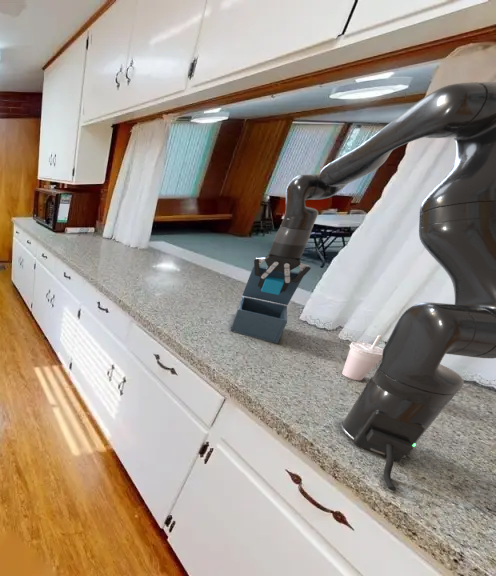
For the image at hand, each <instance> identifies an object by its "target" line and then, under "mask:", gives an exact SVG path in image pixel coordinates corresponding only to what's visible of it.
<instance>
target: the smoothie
mask: <svg viewBox="0 0 496 576" xmlns="http://www.w3.org/2000/svg"><path fill="white" fill-rule="evenodd" d="M381 338H382V335H381V334H378V335H377V337H376V338H375V340H374V341H373V343H372V344H371V343H368V342H364V341H351V343H350V344H349V351H348V353H347V357H346V360H345V363H344V366H343V369H342V371H341V373H342V375H343V376H345V377H346V378H348V379H351V380H353V381H362V380H363V379H364V378H365V377H366V376H367V375H368V374H369V373H370V372H371V371H372V370H373V369H374V367H376V365H377V364H379V362H380V361H382V354H383V349H384V348H382V347H379V346H377V345H378V343H379V341H380V340H381Z"/></svg>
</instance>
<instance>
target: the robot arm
mask: <svg viewBox="0 0 496 576" xmlns="http://www.w3.org/2000/svg"><path fill="white" fill-rule="evenodd" d="M423 138H426V139H453V140H454V141H455V147H456V148H455V150H456V151H455V158H454V163H453V166H452V168H451V169H450V171H449V172H448V173H447V174H446V176H445V177H444V178H443V179H442V180H441V181H440V182H439V183H438V184H437V185H436V186H435V187H433V189H432V190H431V191H430V192H429V193H428V194H427V195H426V197H425V199H424V200H423V201H422V203H421V205H420V207H419V219H418V221H419V224H418V236H419V240H420V243H421V244H422V246H423V247H424V249H425V250H426V251H427V252H428V254H430V256H431V257H432V258H433V259H434V261H436V262H437V263H438V265H440V266H441V268H442V269H443V270H444V271H445V273H446V274H447V275H448V277H449V278H450V280H451V283H452V287H453V295H454V303H445V302H444V303H443V302H420V303H417V304H414V305H412V306H410V307H409V308H407V309H406V310H405V311H404V312H403V313H402V314H401V316H400V317H399V318H398V320H397V322H396V323H395V325H394V327H393V329H392V331H391V333H390V336H389V337H388V339H387V341H386V343H385V345H384V347H383V348H382V349H383V354H382V359H381V360H380V361H381V362H380V363H379V365H378V366H377V368H376V370H375V371H374V373H373V374H372V376H371V377H370V379H369V380H368V382H367V384H366V386H364V388H363V390H362V391H361V393H360V394H359V396H358V398H357V399H356V401H355V402H354V403H353V405H352V407H351V408H350V410H349V411H348V413H347V414H346V416H345V418H344V420H342V421H341V423H340V424H339V427H340V429H341V431H342V432H343V434H344V435H345V436H346V437H347V438H349V439H350V440H351V441H352V443H353V445H355V446H357V447H360V448H362V449H365V450H367V451H371V452H373V453H375V454H377V455H380V456H383V457H385V458H386V461H385V465H384V469H383V479H384V481H385V484H386V486H387V487H388V490H390V491H394V492H395V491H396V490H397V489H396V486H395V484H394V483H393V481H392V478H391V475H392V470H393V467H394V461H396V462H401V461H402V460H403V459H405V458H406V457H407V456H409V454H410V453H411V452H412V451H413V449H414V447H416V444H417V442H418V441H419V440H420V439H421V438H422V436H424V435H425V432H426V431H427V430H428V429H429V427H431V425H432V424H433V423H434V421H435V420H436V419H437V418H438V416H439V415H440V414H441V413H442V411H443V410H444V409H445V408H446V407H447V405H448V404H449V403H450V402H451V401H452V399H453V398H454V397H455V396H456V394H457V393H458V392H459V391H460V390H461V388H462V387H463V385H464V378H463V377H462V376H461V375H460V374H459V373H457V372H456V371H454V370H453V369H451V368H449V367H447V366H445V365H443V364H441V362H442V360H443V359H444V357H445V355H452V356H453V355H454V356H460V357H461V356H462V357H468V358H469V357H470V358H478V359H496V81H476V82H475V81H472V82H471V81H470V82H459V83H452V84H448V85H445V86H442V87H440V88H438V89H436V90H434V91H432V92H430V93H429V94H427V95H426V96H424V97H423V98H422V99H420V100H418V101H416V103H414V104H413V105H412V106H410V107H409V108H408V109H406V110H405V111H403V112H402V113H401V114H400V115H398V116H397V117H396V118H395V119H393V120H392V121H390V122H389V123H388V124H386V125H385V126H384V127H382V129H380V130H379V131H377V132H376V133H375V134H374V135H373V136H371V137H370V138H369V139H367V140H366V141H364V142H363V143H362V144H360V145H359V146H357V147H356V148H353V149H352V150H351V151H349V152H347V153H345V154H343V155H342V156H340V157H338V158H336V159H334V160H333V161H331V162H329V163H328V164H327V165H325V166H324V167H323V168H322V169H321V170H320V173H319V174H300V175H297V176H295V177H294V178H292V180H291V181H290V182H289V183H288V185H287V187H286V190H285V211H284V216H283V219H282V221H281V224H280V226H279V227H278V230H277V231H276V233H275V235H274V237H273V238H274V239H273V241H272V244H271V246H270V250H269V251H268V254H267V256H265V257H254V259H253V266H254V269H255V275H256V276H259V277H260V280H259V283H258V287H259V289H262V287H263V285H264V282H265V279H266V277H267V276H268V275H269V274H270V273H271V272H272V271H279V272H283V273H285V280H284V284H283V286H282V288H281V291H280V293H282V291H283V292H285V291H286V289H287V287H288V284H289V283H291V282H295V283H297V282H298V281H299V280H300V279H301V278H302V277H303V278H304V277H305V275H307V273H309V271H310V270H311V265H310V264H305V263H302V262H301V258H302V256H303V254H304V252H305V250H306V247H307V244H308V242H309V241H310V237H311V234H312V230H313V228H314V225H315V223H316V220H317V218H318V216H319V211H318V209H316V208H314V207H310V206H309V207H308V206H306V200H314V201H315V200H324V199H328V198H331V197H333V196H335V195H337V194H338V193H339V192H341V190H343V189H344V188H345V187H346V186H347V185H348V184H350V183H352V182H354V181H357V180H359V179H361V178H363V177H365V176H368V175H369V174H371V173H373V172H374V171H376V170H377V169H379V168H380V167H381V166H382V165H383V164H384V163H385V162H386V161H387V160H388V159H389V156H390V155H391V153H392V152H393V151H394V150H396V149H398V148H400V147H402V146H404V145H406V144H408V143H411V142H414V141H417V140H420V139H423ZM264 262H265V264H266V267H267V269H266V270H265V271H264V272H263V273H261V272H260V266H262V265H263V263H264ZM298 267H299V268H298ZM296 268H298V270H299V271H298V272H299V273H298V274H297V275H296V276H295V277H294V278H290V271H293V270H294V269H296ZM303 278H302V279H303Z"/></svg>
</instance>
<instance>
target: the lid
mask: <svg viewBox="0 0 496 576" xmlns="http://www.w3.org/2000/svg"><path fill="white" fill-rule="evenodd" d="M267 267H268V266H262V265H260V272H261V273H263V272H264V271H265V270H266V269H267ZM298 273H299V271H293V270H291V271H290V278H294V277H295V276H296V275H297V274H298ZM268 276H269V277H275V278H281V279H284V280H285V273H283V272H279V271H272V272H271V273H270V274H269V275H268ZM303 279H304V276H303V277H302V278H301V279H300V280H299V281H298V282H297V283H295V282H291V283H289V284H288V287H287V289H286V291H285V292H283V291H282V293H279V295H276V294H271V293H266V292H261V289H259V287H258V283H259V280H260V277H259V276H256V275H255V269H254V265H253V266H252V270H251V271H250V274H249V276H248V279H247V282H246V285H245V287H244V289H243V291H242V292H243V293H242V296H244V297H249V298H253V299H258V300H263V301H268V302H272V303H277V304H282V305H286V306H289V303H290V302H291V300H292V298H293V296H294V294H295V293H296V291H297V289H298V288H299V285H300V283H301V282H302V280H303ZM242 296H241V297H242Z"/></svg>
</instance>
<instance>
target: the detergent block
mask: <svg viewBox="0 0 496 576" xmlns="http://www.w3.org/2000/svg"><path fill="white" fill-rule="evenodd" d="M283 284H284V279H281V278H275V277H269V276H267V277H266V279H265V282H264V285H263V287H262V289H261V292H266V293H271V294H276V295H279V293H280V291H281V288H282V286H283Z"/></svg>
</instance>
